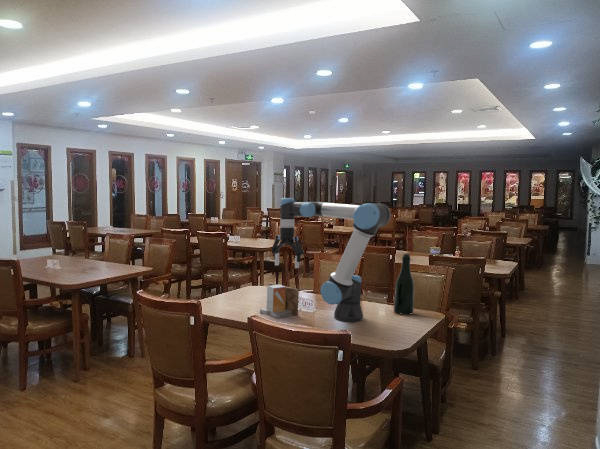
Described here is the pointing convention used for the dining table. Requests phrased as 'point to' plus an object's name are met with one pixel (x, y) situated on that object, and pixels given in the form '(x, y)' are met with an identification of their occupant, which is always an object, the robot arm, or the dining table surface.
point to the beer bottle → (404, 288)
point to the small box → (276, 298)
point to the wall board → (286, 304)
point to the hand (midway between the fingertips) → (286, 266)
